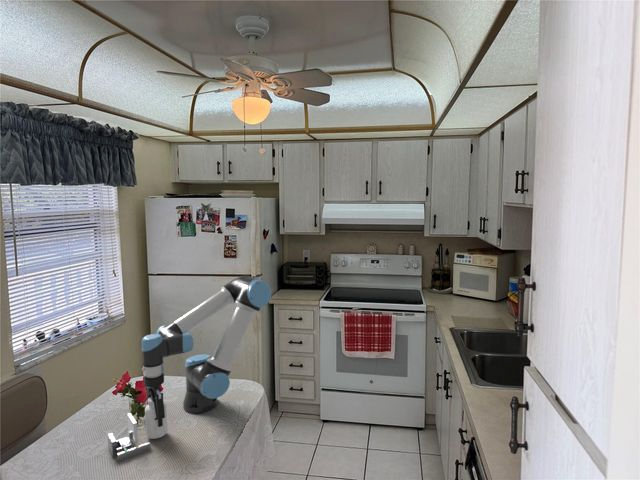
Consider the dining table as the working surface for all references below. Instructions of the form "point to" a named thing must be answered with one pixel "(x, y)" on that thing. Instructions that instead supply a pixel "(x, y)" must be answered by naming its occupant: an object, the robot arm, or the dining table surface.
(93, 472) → the dining table surface
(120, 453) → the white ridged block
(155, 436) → the pill bottle
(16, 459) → the dining table surface
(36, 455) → the dining table surface
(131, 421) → the white l-shaped bracket
